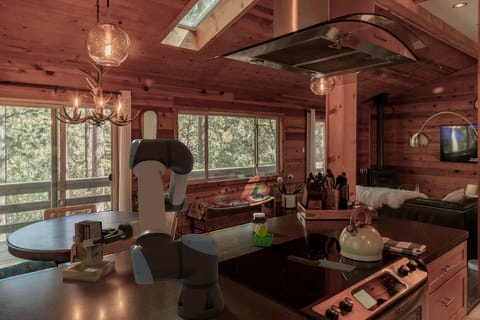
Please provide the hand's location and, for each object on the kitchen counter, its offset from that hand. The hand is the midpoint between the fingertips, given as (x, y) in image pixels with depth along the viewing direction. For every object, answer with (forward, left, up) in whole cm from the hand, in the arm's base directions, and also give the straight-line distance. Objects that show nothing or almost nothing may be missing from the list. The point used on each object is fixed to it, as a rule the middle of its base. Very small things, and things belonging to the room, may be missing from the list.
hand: (78, 241), depth 134 cm
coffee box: (+4, -2, -9) cm, 10 cm away
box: (+4, -2, -15) cm, 15 cm away
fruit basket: (+58, -65, -15) cm, 88 cm away
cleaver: (+35, -95, -15) cm, 102 cm away
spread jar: (+80, -60, -15) cm, 101 cm away
